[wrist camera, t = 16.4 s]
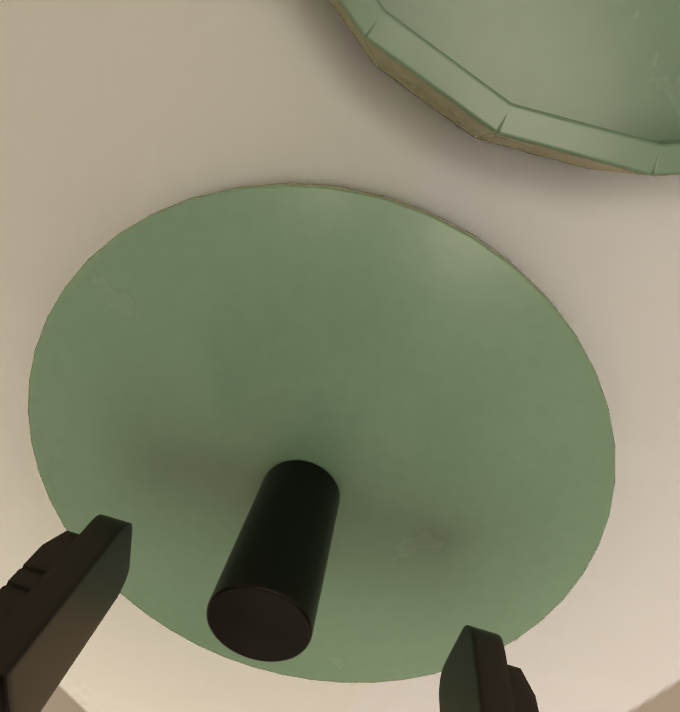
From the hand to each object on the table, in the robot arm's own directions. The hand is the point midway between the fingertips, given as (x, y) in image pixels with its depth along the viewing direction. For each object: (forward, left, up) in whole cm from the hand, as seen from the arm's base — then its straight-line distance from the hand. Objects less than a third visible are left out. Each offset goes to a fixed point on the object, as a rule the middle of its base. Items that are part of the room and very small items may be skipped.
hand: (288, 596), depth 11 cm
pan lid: (-1, 0, -4) cm, 4 cm away
